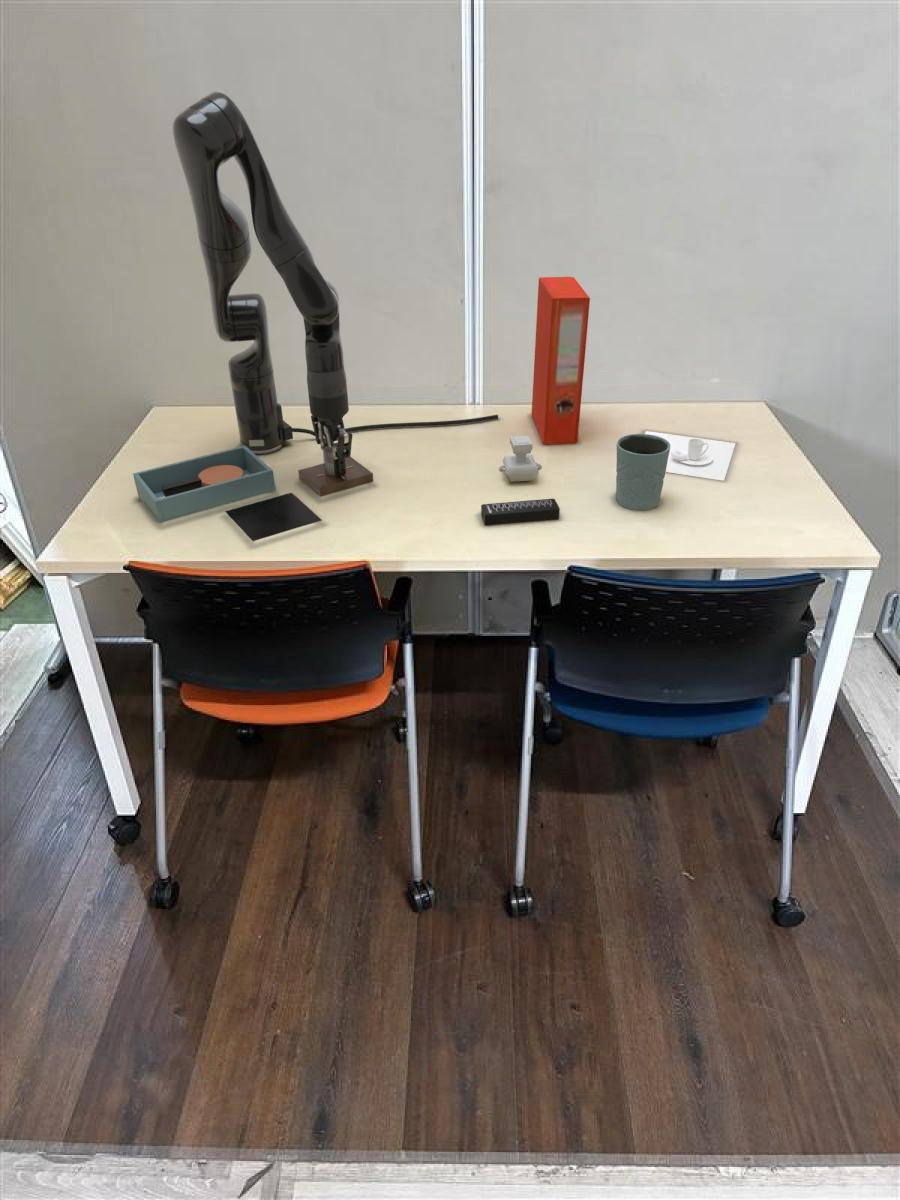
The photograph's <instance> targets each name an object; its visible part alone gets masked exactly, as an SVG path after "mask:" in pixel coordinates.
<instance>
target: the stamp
mask: <svg viewBox="0 0 900 1200" xmlns="http://www.w3.org/2000/svg"><path fill="white" fill-rule="evenodd" d="M509 443H510V446H511V449H512V453H513V455H504V456H503V458H502V463H503V464H502V465H500V466H499V467H498V472H499V473H502V474H503V473H504V474H505V475H506V476H507V478H508V479H509V480H510V482H526V481H527V482H529V481H530V482H531V481H533V480H534V479H535V478H536V477H537V476H538V475H539V474H540V473H539V472H540V471H541V470H542V469H543V465H542V463H538V462H536V461H535V457H534V455H533V454H531V453H532V450H533V442H532V440H531V438H530V436H529V435H519V436H509Z"/></svg>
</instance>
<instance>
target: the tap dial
mask: <svg viewBox="0 0 900 1200" xmlns="http://www.w3.org/2000/svg"><path fill="white" fill-rule="evenodd" d="M336 451H337V448H336ZM323 453H324V457H323V463H325V472H326V474H328V475H332V476H336V475H335V471H334V461H333V459H334V458H333V454H332V449H331V448H329V446H326V447H324V448H323V450H322V454H323Z"/></svg>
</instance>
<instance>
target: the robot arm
mask: <svg viewBox="0 0 900 1200" xmlns="http://www.w3.org/2000/svg"><path fill="white" fill-rule="evenodd" d="M172 136H173V141H174V146H175V149H176V152H177V157H178V159H179V162H180V165H181V168H182V172H183V176H184V178H185V181H186V184H187V188H188V191H189V195H190V200H191V205H192V209H193V213H194V218H195V224H196V231H197V236H198V242H199V247H200V250H201V255H202V258H203V259H202V260H203V263H204V267H205V268H204V269H205V271H206V276H207V279H208V280H207V281H208V282H207V283H208V288H209V295H210V297H209V298H210V303H211V305H210V306H211V313H212V319H213V325H214V328H215V332H216V334H217V336H218V338H219V339H220V340H221V341H223V342H226V343H237V342H238V343H239V342H252V341H253V343H252V344H251V345H250V346H249V347H248V348H246V349H245V350H243V351H241V352H239V353H236V354H235V355H233V356H232V357H230V359H229V360H228V364H227V365H228V366H227V367H228V373H229V378H230V385H231V392H232V398H233V403H234V409H235V410H234V411H235V415H236V421H237V429H238V433H239V441H240V447H241V446H246V447H247V448H248V449H250V450H251V451H252V452H253V453H254V454H255V455H265V454H270V453H274V452H277V451H278V450H280V449H281V448H282V447H286V446H287V441H290V440H294V436H293V433H301V434H308V435H312V436H313V437H315V442H316V444H317V445H320V449H321V451H323V448H324V447H326V446H329V448H331V449H332V454H333V458H334V459H333V461H334V471H335V475H337V476H341V475H344V474H345V473H346V466H345V458H348V457H351V455H352V443H353V434H352V433H353V432H356V431H364V430H375V429H376V430H377V429H389V428H408V427H409V428H410V427H433V426H434V427H435V426H451V425H462V424H463V425H464V424H472V423H480V422H485V421H490V420H491V421H492V420H496V419H499V415H498V414H492V415H487V416H481V417H472V418H467V419H454V420H440V421H438V420H437V421H416V422H415V421H414V422H393V423H380V424H379V423H378V424H367V425H358V426H351V427H346V428H345V423H344V417H345V416H346V415H347V414H348V413H349V411H350V407H349V395H348V393H349V392H348V384H347V383H348V382H347V381H348V380H347V374H346V370H345V369H346V368H345V362H344V349H343V343H342V339H341V330H340V329H341V328H340V326H341V325H340V324H341V323H340V301H339V299H340V298H339V293H338V291H337V289H336V287H335V286H334V285H333V284H332V283H331V282H330V281H328V280H327V279H325V278H324V276H323V274H322V273H321V271H320V270H319V268H318V266H317V264H316V262H315V259H314V256H313V253H312V251H311V249H310V247H309V246H308V244H307V242H306V241H305V239H304V237H303V235H302V233H301V232H300V231H299V229H298V228H297V226H296V224H295V223H294V220H293V219H292V218H291V217H292V216H290V213H289V211H288V209H287V208H286V206H285V204H284V202H283V200H282V198H281V195H280V193H279V192H278V189H277V187H276V184H275V181H274V180H273V177H272V175H271V172H270V170H269V167H268V166H267V163H266V161H265V159H264V156H263V154H262V152H261V149H260V147H259V145H258V142H257V141H256V139H255V136H254V133H253V132H252V130H251V127H250V125H249V123H248V121H247V119H246V118H245V116H244V113H242V110H241V109H240V107H239V106H238V105H237V103H236V102H235V101H234V100H233V99H232V98H231V97H230V96H228V95H227V94H226V93H223V92H221V91H213V92H211V93H208V94H207V95H205V96H204V97H202V98H201V99H199V100H197V101H195V102H194V103H193V104H191V105H190V106H188V107H186V109H184V110H182V111H181V112H180V113H178V115H176V117H175V118H174V120H173V123H172ZM232 158H234V160H235V161H236V163H237V165H238V166H239V168H240V170H241V172H242V174H243V177H244V180H245V184H246V187H247V191H248V198H249V205H250V212H251V219H252V220H251V221H252V226H253V230H254V233H255V236H256V239H257V241H258V244H259V245H260V247H261V249H262V250H263V252H264V253H265V256H267V258H268V260H269V262H270V263H271V264H272V266H273V267H274V269H275V270H276V272H277V273H278V275H279V276H280V277H281V279H282V280H283V283H284V284H285V286H286V289H287V291H288V293H289V295H290V297H291V298H292V299H291V300H292V301H293V303H294V305H295V306H296V308H297V310H298V311H299V313H300V315H301V316H302V318H303V327H304V333H305V341H304V351H305V363H306V385H307V393H308V403H309V412H310V414H311V415H310V419H311V424H312V428H313V430H311V429H309V428H308V429H307V428H298V427H292V426H291V425H290V424H289V423H287V422H286V421H285V420H284V417H283V416H284V415H283V408H282V405H281V404H280V403H279V402H278V396H277V389H276V381H275V375H274V367H273V359H272V354H271V352H272V351H271V345H270V335H269V320H268V312H267V311H268V310H267V305H266V302H265V299H264V297H263V296H262V295H261V294H260V293H255V292H253V293H252V292H251V293H239V294H230V292H231V291H232V288H233V286H234V284H235V283H236V282H237V281H238V279H239V277H240V276H241V275H242V274H243V272H244V271H245V269H246V267H247V266H248V264H249V262H250V259H251V256H252V243H251V236H250V227H249V223H248V219H247V217H246V215H245V213H244V212H243V210H242V209H241V207H239V206H238V205H237V204H236V203H235V202H234V201H233V200H231V198H229V197H228V196H226V195H225V194H224V193H223V191H222V190H221V187H220V183H219V182H220V181H219V169H220V167H221V166H223V165H224V164H225V163H227V162H228V161H229V160H231V159H232ZM336 448H337V451H336ZM322 456H323V458H324V453H323V452H322ZM323 463H324V462H323ZM324 466H325V463H324Z"/></svg>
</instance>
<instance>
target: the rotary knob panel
mask: <svg viewBox="0 0 900 1200" xmlns="http://www.w3.org/2000/svg"><path fill="white" fill-rule="evenodd" d="M345 466H346V473H345V474H344V475H341V476H337V475H336V476H332V475H328V474H326V472H325V466H324V462H323V463H319V464H316V465H312V466H308V467H305V468H301V469H298V470H297V472H298V478H299V480H300V481H301V482H303V483H304V484H305V485H306V486H307V487H308V488H310V489H311V490H312V491H313V492H314V493H315V494H316V495H318V496H319V497H324V496H329V495H331V494H335V493H338V492H341V491H345V490H348V489H352V488H355V487H359V486H362V485H365V484H369V483H373V482H374V473H373V472H372V471H371V470H369V469H368V468H367V467H365V466H364V465H363V464H362V463H360V462H359V461H358V460H356V459H355V458H353V457H352V456H350V457H348V458H345Z"/></svg>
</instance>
